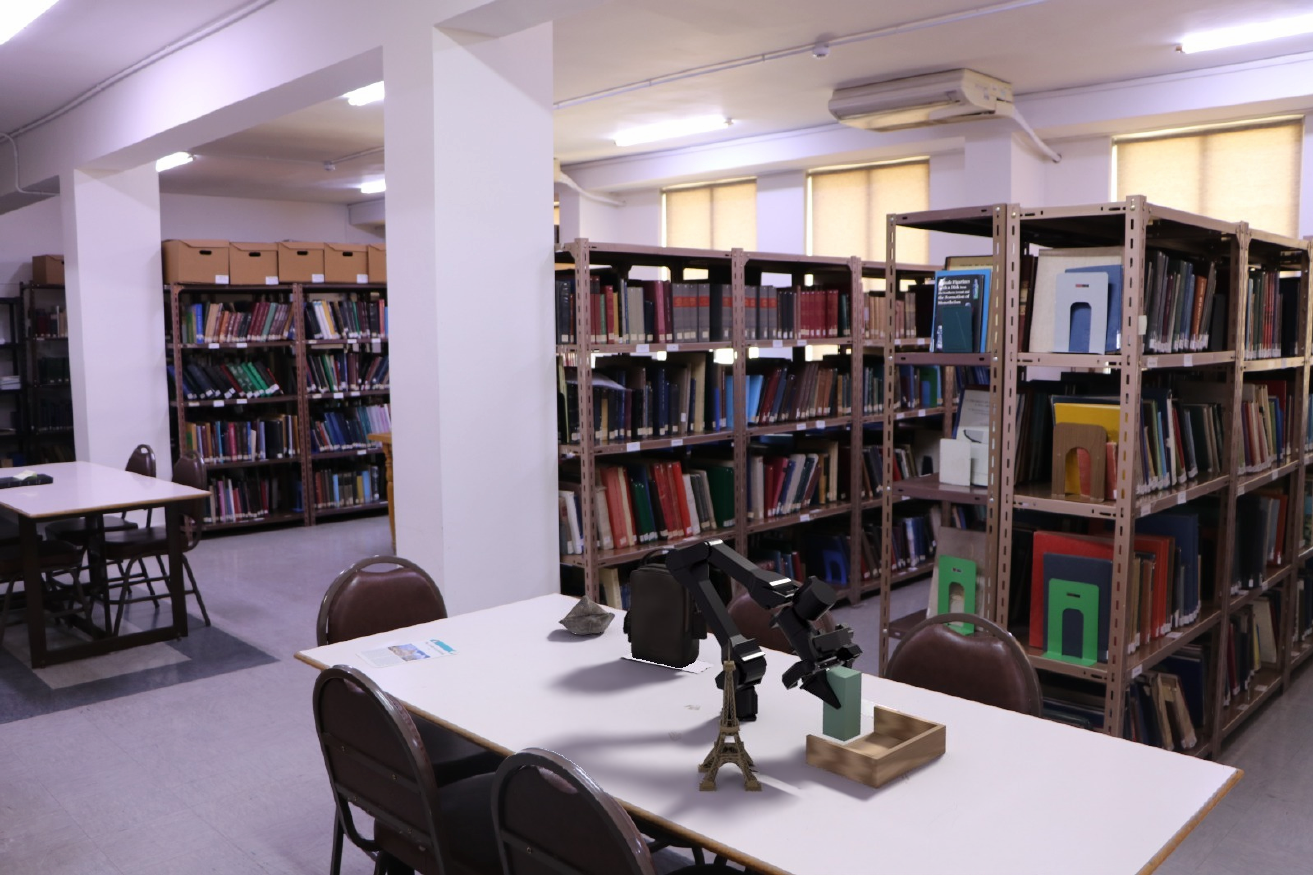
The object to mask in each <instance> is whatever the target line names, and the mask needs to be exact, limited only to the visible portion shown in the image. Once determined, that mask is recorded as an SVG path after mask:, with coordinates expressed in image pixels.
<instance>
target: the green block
mask: <svg viewBox="0 0 1313 875" xmlns="http://www.w3.org/2000/svg"><path fill="white" fill-rule="evenodd" d="M826 672H827V681H828V683H829V684H830V686H831V688H832V689H833V691H834V693H835V695H836V696H837V698H838V700H839V702H840V704H841V708H840V709H838V710H837V709H835V708H834V707H832V706H830V705H829V704H827V703H826V702H824V701H823V700H822V735H825V736H827V737H830V738H833V739H836V740H839V741H841V742H843V743H845V742H847V741H849V740H852V739H854V738H856V737H858V736H860V735H861V729H862V728H861V727H862V725H861V723H862V714H861V699H862V683H863V682H862V678H863V676H862V673H863V672H862V671H860V670H855V669H853V668H852V669H849V668H846V667H842V666H838V667H835V668H832V669H826Z"/></svg>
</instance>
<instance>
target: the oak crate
mask: <svg viewBox="0 0 1313 875" xmlns="http://www.w3.org/2000/svg"><path fill="white" fill-rule="evenodd" d="M895 710H896V709H895ZM895 710H891V709H888V708H884V707H881V706H878V705H876V706H874V717H873V731H871V732H870V733H867V734H865V735H863V736H861V737H859V738H857V739H855V740H853V741H850V742H848V743H846V744H844V745H843V744H840V743H838V742H833V741H831V740H829V739H825V738H823V737H819V736H816V735H814V734H807V735H806V736H805V745H806V746H805V763H806V764H808V765H811V766H813V767H816V768H819V769H822V770H825V771H826V772H830V773H832V774H836V775H838V776H841V777H844V778H846V779H849V780H852V781H855V782H858V783H860V784H863V785H866V786H868V787H871V788H874V789H879V788H881V787H882V786H885V785H886V784H888V783H890V782H892V781H894V780H897V779H898V778H900V777H901V776H903V775H905V774H908V773H909V772H911V771H912V770H915V769H917V768H918V767H920V766H922V765H924V764H927V763H928V762H929V761H932V760H934V759H935V758H937V757H939V756H941V755H943V754H945V753H946V750H947V748H946V746H947V743H946V742H947V725H946V724H943V723H940V722H935V721H932V720H928V719H926V718H921V717H918V716H914V715H911V714H908V713H905V712H902V711H900V712H898V711H895Z"/></svg>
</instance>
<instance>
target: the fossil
mask: <svg viewBox="0 0 1313 875" xmlns="http://www.w3.org/2000/svg"><path fill="white" fill-rule="evenodd" d="M615 617H616V614H615V613H613V612H611V611H610V612H608V611H607V610H605V609H604V608H602V607H601V606H600V605H599V604H598V603H596V602H595V601H594V600H592V599H591V598H590V597H589V595H583V596H582V597H581V599H580V600H579V601H578V602H577V603H575V605H574V606H573V607H572V608H571V610H570V611H569V612H568V613H567V614H566V615H565V617H564V618H562V619H560V620H559V621H558V623H559V624H560V625H562V626H564V627H565V628H566V629H567V630H568V631H569V632H570V633H572V634H574V633H576V634H575V635H579V634H585V635H589V634H588V633H590V634H592V633H598V634H601V633H603V632H605V631H606V630H607V629H608V628H609V626H610V624H611V623H612V621H613V620H614V619H615ZM600 632H601V633H600Z"/></svg>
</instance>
